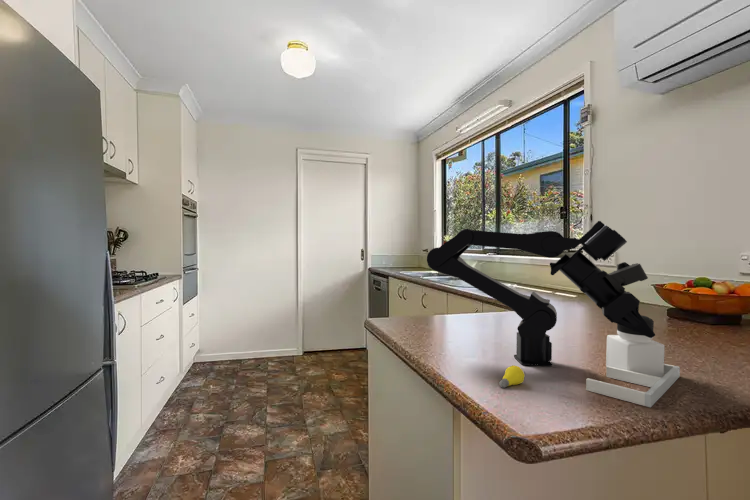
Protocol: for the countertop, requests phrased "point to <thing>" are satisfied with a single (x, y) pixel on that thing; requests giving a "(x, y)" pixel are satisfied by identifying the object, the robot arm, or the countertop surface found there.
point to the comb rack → (631, 395)
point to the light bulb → (512, 376)
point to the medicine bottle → (635, 351)
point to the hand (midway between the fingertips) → (649, 333)
